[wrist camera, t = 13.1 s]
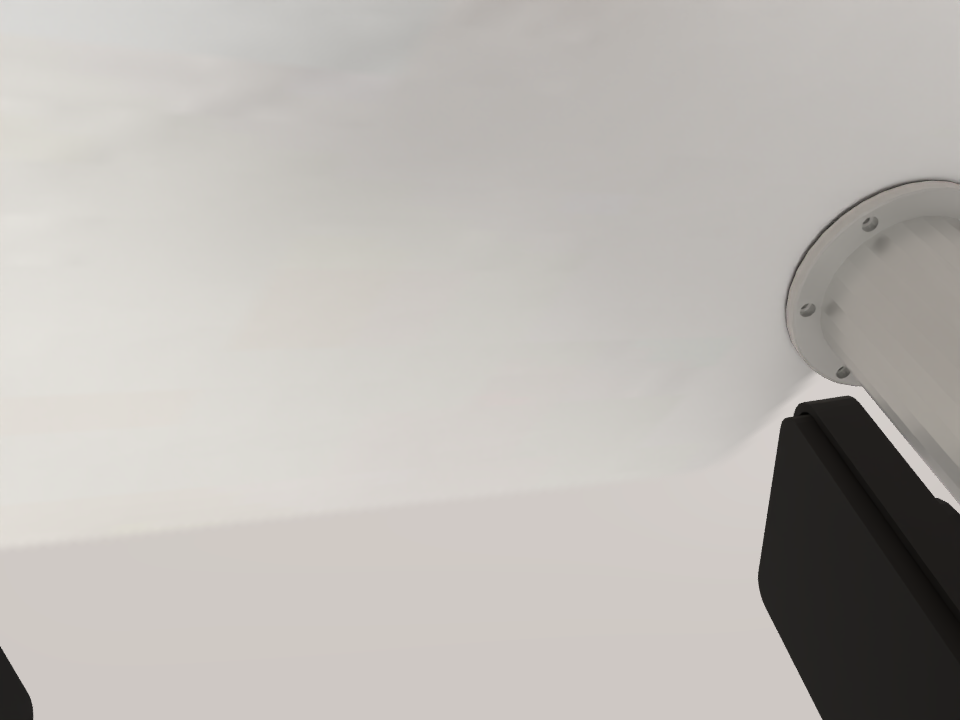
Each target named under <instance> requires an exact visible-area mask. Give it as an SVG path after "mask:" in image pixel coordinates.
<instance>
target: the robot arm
mask: <svg viewBox="0 0 960 720" xmlns="http://www.w3.org/2000/svg"><path fill="white" fill-rule="evenodd" d="M786 316H787V328H788V331H789V335H790V338H791V341H792V343H793V345H794V346H795V348H796V350H797V351H798V353H799V355H800V356H801V357H802V358H803V359H804V361H805V362H806V363H807V364H808V365H809V367H810V368H811V369H813V370H814V371H816V372H817V373H818V374H820V375H821V376H823V377H824V378H827V379H829V380H831V381H833V382H836V383H840V384H846V385H852V386H862V387H863V388H864V389H865V390H866V391H867V393H868V394H869V395H870V396H871V398H872V399H873V400H874V401H875V402H876V404H877V405H878V406H879V407H880V408H881V410H882V411H883V412H884V413H885V415H886V416H887V417H888V418H889V419H890V421H891V422H892V423H893V424H894V425H895V427H896V428H897V429H898V430H899V432H900V433H901V434H902V435H903V436H904V438H905V439H906V440H907V441H908V442H909V444H910V445H911V446H912V447H913V449H914V450H915V451H916V452H917V453H918V455H919V456H920V457H921V458H922V459H923V461H924V462H925V463H926V464H927V465H928V467H929V468H930V469H931V470H932V472H933V473H934V474H935V475H936V476H937V478H938V479H939V480H940V481H941V482H942V483H943V485H944V486H945V487H946V489H947V490H948V491H949V492H950V493H951V495H952V496H953V497H954V498H955V499H956V501H957V502H958V503H959V504H960V184H956V183H952V182H947V181H924V182H917V183H910V184H905V185H902V186H899V187H896V188H893V189H890V190H887V191H884V192H882V193H880V194H878V195H876V196H874V197H872V198H870V199H868V200H866V201H864V202H862V203H860V204H859V205H857V206H856V207H854V208H853V209H852V210H850V211H849V212H847V213H846V214H844V215H843V216H841V217H840V218H839V219H838V220H837V221H836V222H835V223H834V224H833V225H832V226H831V227H829V228H828V229H827V230H826V231H825V232H824V233H823V234H822V235H821V237H820V238H819V239H818V240H817V241H816V243H815V244H814V245H813V246H812V248H811V249H810V250H809V251H808V253H807V255H806V256H805V258H804V260H803V261H802V263H801V265H800V266H799V268H798V270H797V272H796V274H795V277H794V280H793V282H792V285H791V287H790V290H789V296H788V301H787V307H786ZM758 582H759V589H760V594H761V597H762V600H763V603H764V605H765V607H766V609H767V611H768V613H769V615H770V617H771V619H772V621H773V623H774V625H775V627H776V629H777V631H778V633H779V635H780V637H781V638H782V641H783V642H784V645H785V647H786V649H787V650H788V653H789V655H790V657H791V659H792V661H793V663H794V665H795V666H796V668H797V670H798V672H799V674H800V676H801V678H802V680H803V682H804V684H805V686H806V688H807V690H808V692H809V694H810V696H811V698H812V700H813V702H814V704H815V706H816V708H817V710H818V712H819V714H820V716H821V718H822V719H823V720H960V514H959V513H958V512H957V511H956V510H955V509H954V508H953V507H952V506H951V505H949V503H947V502H945V501H943V500H941V499H939V498H935V497H934V496H933V495H932V493H931V492H930V491H929V490H928V489H927V487H926V486H925V485H924V483H923V482H922V481H921V480H920V478H919V477H918V476H917V475H916V473H915V472H914V471H913V469H912V468H911V467H910V466H909V464H908V463H907V462H906V461H905V459H904V458H903V457H902V456H901V454H900V453H899V452H898V451H897V449H896V448H895V447H894V446H893V444H892V443H891V442H890V441H889V440H888V438H887V437H886V436H885V434H884V433H883V432H882V431H881V429H880V428H879V427H878V426H877V424H876V423H875V422H874V421H873V419H872V418H871V417H870V415H869V414H868V413H867V412H866V411H865V409H864V408H863V407H862V405H860V403H859V402H858V401H857V400H856V399H855V398H853V397H851V396H842V397H835V398H829V399H823V400H816V401H809V402H804V403H801V404H799V405H798V406H797V407H796V409H795V413H794V416H793V417H788V418H785V419H784V420H783V421H782V424H781V428H780V434H779V441H778V447H777V455H776V461H775V467H774V474H773V481H772V487H771V494H770V500H769V506H768V513H767V519H766V526H765V533H764V539H763V546H762V552H761V559H760V565H759V572H758ZM0 720H33V707H32V703H31V699H30V696H29V694H28V693H27V691H26V689H25V687H24V686H23V684H22V683H21V681H20V679H19V677H18V676H17V674H16V672H15V671H14V669H13V667H12V665H11V664H10V662H9V661H8V659H7V657H6V655H5V654H4V652H3V650H2V649H1V647H0Z"/></svg>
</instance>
